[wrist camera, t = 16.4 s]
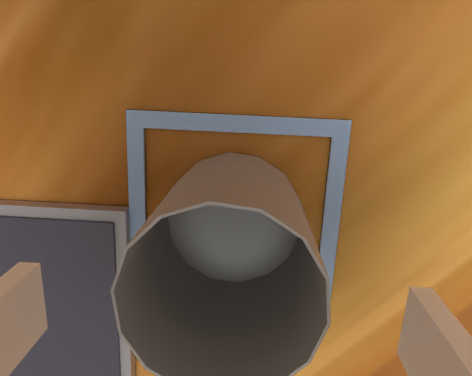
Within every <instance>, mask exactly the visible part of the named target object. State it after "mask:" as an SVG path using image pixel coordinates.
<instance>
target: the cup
mask: <svg viewBox="0 0 472 376" xmlns="http://www.w3.org/2000/svg"><path fill="white" fill-rule="evenodd" d="M110 291H111V296H112V301H113V307H114V312H115V317H116V323H117V328H118V333H119V335H120V336H121V337H122V339H123V340H124V341H125V343H126V344H127V345H128V347H129V348H130V349H131V351H132V352H133V354H134V355H135V356H136V358H137V359H138V360H139V362H140V363H141V364H142V366H143V367H144V368H145V369H146V370H148V371H149V372H151V373H153V374H155V375H156V376H293V375H294V374H296V373H297V372H298V371H300V370H301V369H303V368H304V367H305V366H307V365H308V364H309V363H311V361H312V359H313V357H314V355H315V353H316V351H317V349H318V347H319V345H320V343H321V341H322V340H323V338H324V336H325V334H326V332H327V330H328V328H329V326H330V283H329V277H328V274H327V271H326V269H325V266H324V263H323V261H322V258H321V255H320V253H319V250H318V247H317V245H316V242H315V239H314V237H313V234H312V231H311V228H310V226H309V223H308V220H307V218H306V215H305V212H304V210H303V207H302V204H301V202H300V199H299V197H298V196H297V194H296V192H295V190H294V189H293V187H292V185H291V183H290V182H289V180H288V178H287V176H286V175H285V173H283V172H282V171H280V170H279V169H277V168H276V167H274V166H273V165H271V164H270V163H268V162H267V161H265V160H264V159H262V158H261V157H259V156H253V155H246V154H239V153H232V152H226V153H223V154H220V155H217V156H213V157H210V158H207V159H204V160H200V161H198V162H197V163H196V164H195V165H194V166H193V167H192V168H191V169H190V170H189V171H188V172H187V173H186V174H184V175H183V176H182V177H181V178H180V179H179V180H178V181H177V182H176V184H175V185H174V186H173V187H172V189H171V190H170V191H169V192H168V194H167V195H166V196H165V197H164V199H163V200H162V201H161V203H160V204H159V205H158V206H157V208H156V209H155V210H154V211H153V213H152V214H151V215H150V216H149V218H148V219H147V220H146V221H145V223H144V224H143V225H142V227H141V228H140V229H139V230H138V232H137V233H136V234H135V235H134V237H133V238H132V239H131V240H130V242H129V243H128V244H127V246H126V247H125V248H124V251H123V254H122V257H121V260H120V263H119V266H118V269H117V272H116V275H115V278H114V281H113V284H112V287H111V290H110Z"/></svg>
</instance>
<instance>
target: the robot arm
mask: <svg viewBox="0 0 472 376" xmlns="http://www.w3.org/2000/svg"><path fill="white" fill-rule="evenodd" d="M47 328H48V325H47V317H46V308H45V300H44V291H43V283H42V274H41V266H40V263H32V262H18V263H17V264H16V265H15V266H13V267H12V268H11V269H10V270H9V271H7V272H6V273H5V274H4V275H2V276H1V277H0V376H9V375H10V374H11V373H12V371H13V370H14V369H15V368H16V367H17V365H18V364H19V363H20V362H21V360H22V359H23V358H24V357H25V355H26V354H27V353H28V352H29V351H30V349H31V348H32V347H33V346H34V344H35V343H36V342H37V341H38V340H39V338H40V337H41V336H42V335H43V333H44V332H45V331H46V330H47ZM397 354H398V356H399V358H400V360H401V362H402V364H403V366H404V368H405V370H406V372H407V374H408V376H472V337H471V336H470V335H469V333H468V332H467V331H466V330H465V328H464V327H463V326H462V325H461V323H460V322H459V321H458V320H457V318H456V317H455V316H454V315H453V313H452V312H451V311H450V310H449V308H448V307H447V306H446V305H445V303H444V302H443V301H442V300H441V298H440V297H439V296H438V295H437V293H436V292H435V291H434V290H433V288H425V287H409V293H408V298H407V303H406V308H405V313H404V319H403V324H402V329H401V334H400V339H399V345H398V350H397Z"/></svg>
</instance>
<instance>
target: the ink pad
mask: <svg viewBox="0 0 472 376" xmlns="http://www.w3.org/2000/svg"><path fill="white" fill-rule="evenodd" d="M129 242H130V223H129V207H128V206H110V205H92V204H74V203H56V202H38V201H20V200H2V199H0V277H1V276H2V275H4V274H5V273H6V272H7V271H9V270H10V269H11V268H12V267H13V266H15V265H16V264H17V263H18V262H32V263H40V266H41V274H42V283H43V291H44V300H45V308H46V317H47V325H48V328H47V330H46V331H45V332H44V333H43V335H42V336H41V337H40V338H39V340H38V341H37V342H36V343H35V344H34V346H33V347H32V348H31V349H30V351H29V352H28V353H27V354H26V355H25V357H24V358H23V359H22V360H21V362H20V363H19V364H18V365H17V367H16V368H15V369H14V370H13V371H12V373H11V374H10V375H9V376H136V368H135V355H134V354H133V352H132V351H131V349H130V348H129V347H128V345H127V344H126V343H125V341H124V340H123V339H122V337H121V336H120V335H119V333H118V328H117V323H116V317H115V312H114V307H113V301H112V296H111V291H110V290H111V287H112V284H113V281H114V278H115V275H116V272H117V269H118V266H119V263H120V260H121V257H122V254H123V251H124V248H125V247H126V246H127V244H128V243H129Z"/></svg>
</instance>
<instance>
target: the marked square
mask: <svg viewBox="0 0 472 376" xmlns="http://www.w3.org/2000/svg"><path fill="white" fill-rule="evenodd" d="M351 123H352V120H341V119H320V118H299V117H277V116H256V115H234V114H213V113H191V112H170V111H148V110H126V130H127V161H128V192H129V223H130V240H131V239H132V238H133V237H134V235H135V234H136V233H137V232H138V230H139V229H140V228H141V227H142V225H143V224H144V223H145V221H146V169H145V128H153V129H174V130H195V131H216V132H236V133H257V134H278V135H298V136H319V137H331V144H330V153H329V162H328V172H327V181H326V190H325V200H324V209H323V219H322V228H321V237H320V247H319V253H320V255H321V258H322V261H323V263H324V266H325V269H326V271H327V274H328V277H329V283H330V299H331V291H332V282H333V274H334V266H335V257H336V249H337V241H338V232H339V224H340V215H341V207H342V199H343V190H344V182H345V173H346V165H347V157H348V148H349V140H350V132H351Z"/></svg>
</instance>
